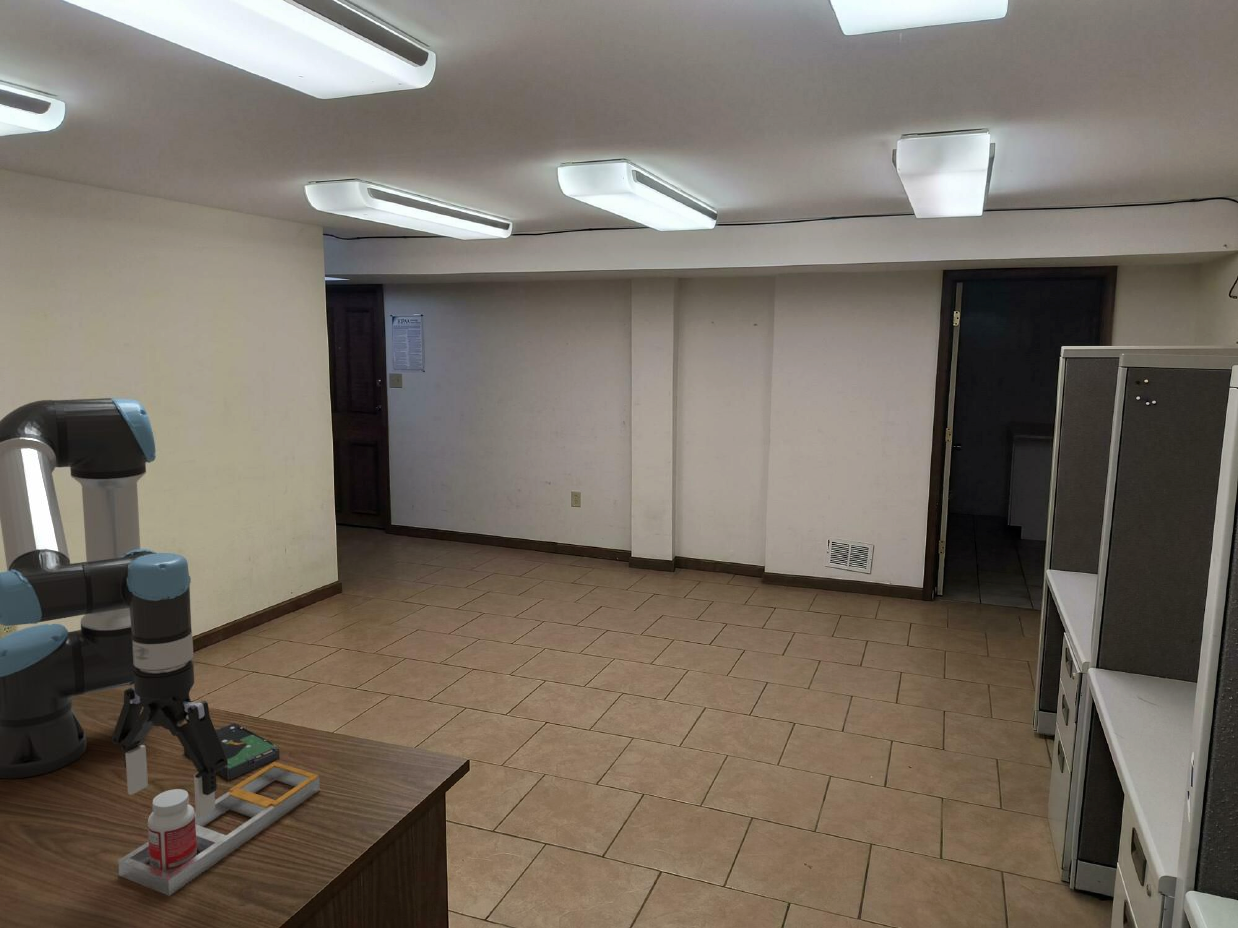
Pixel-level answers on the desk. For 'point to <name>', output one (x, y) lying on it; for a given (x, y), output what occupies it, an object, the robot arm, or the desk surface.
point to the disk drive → (243, 750)
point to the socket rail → (222, 845)
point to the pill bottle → (171, 831)
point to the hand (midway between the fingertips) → (171, 801)
